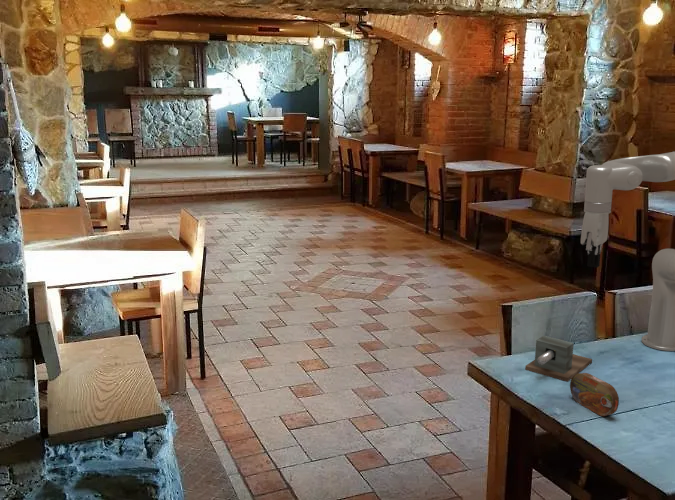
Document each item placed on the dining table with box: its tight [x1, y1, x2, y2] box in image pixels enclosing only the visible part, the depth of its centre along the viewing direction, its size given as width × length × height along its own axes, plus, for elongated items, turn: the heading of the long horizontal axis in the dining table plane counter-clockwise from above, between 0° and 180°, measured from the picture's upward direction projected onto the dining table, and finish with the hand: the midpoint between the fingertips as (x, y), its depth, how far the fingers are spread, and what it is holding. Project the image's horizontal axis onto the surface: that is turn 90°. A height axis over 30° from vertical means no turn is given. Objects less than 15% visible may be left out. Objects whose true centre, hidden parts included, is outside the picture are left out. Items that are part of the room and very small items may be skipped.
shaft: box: [537, 338, 561, 365], centre depth 197 cm, size 13×5×5 cm, turn 139°
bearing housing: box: [524, 335, 593, 383], centre depth 202 cm, size 18×13×9 cm
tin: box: [569, 372, 620, 417], centre depth 176 cm, size 15×3×8 cm, turn 23°
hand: (593, 266), depth 206 cm, fingers closed
